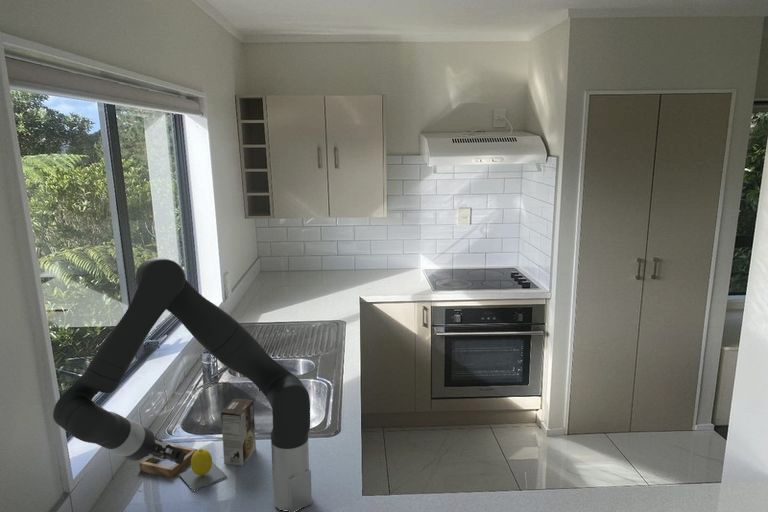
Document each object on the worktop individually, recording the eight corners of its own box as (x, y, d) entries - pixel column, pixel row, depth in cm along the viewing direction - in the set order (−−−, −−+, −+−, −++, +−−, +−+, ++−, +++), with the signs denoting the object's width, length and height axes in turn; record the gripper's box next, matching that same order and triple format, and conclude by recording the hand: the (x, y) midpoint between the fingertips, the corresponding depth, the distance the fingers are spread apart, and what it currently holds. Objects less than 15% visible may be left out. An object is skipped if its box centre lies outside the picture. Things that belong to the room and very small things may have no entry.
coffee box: (236, 447, 163) (233, 397, 160) (256, 449, 162) (254, 399, 159) (223, 463, 154) (219, 411, 151) (244, 466, 153) (241, 413, 150)
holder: (197, 456, 158) (197, 449, 158) (172, 478, 148) (171, 469, 147) (166, 450, 161) (166, 443, 161) (139, 470, 151) (139, 462, 151)
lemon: (195, 484, 144) (193, 456, 143) (189, 474, 149) (187, 447, 147) (215, 476, 147) (214, 450, 146) (209, 467, 152) (207, 441, 150)
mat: (227, 477, 148) (227, 475, 148) (193, 491, 142) (193, 490, 142) (212, 462, 155) (211, 461, 155) (178, 475, 149) (178, 474, 149)
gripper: (161, 426, 122) (197, 446, 135) (111, 418, 126) (150, 438, 139) (147, 460, 118) (185, 477, 131) (96, 451, 122) (138, 468, 135)
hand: (167, 457), depth 135 cm, fingers open, 8 cm apart
